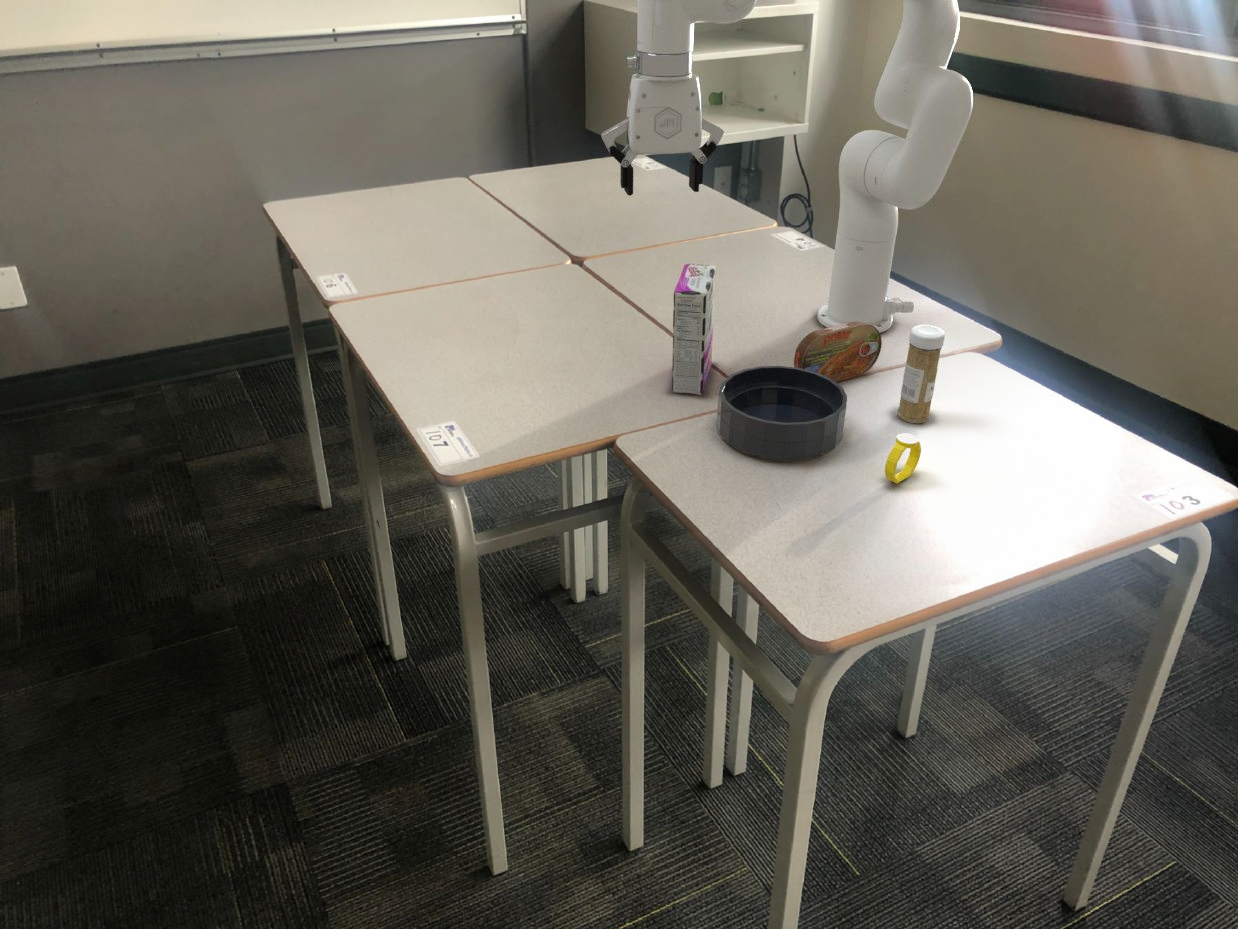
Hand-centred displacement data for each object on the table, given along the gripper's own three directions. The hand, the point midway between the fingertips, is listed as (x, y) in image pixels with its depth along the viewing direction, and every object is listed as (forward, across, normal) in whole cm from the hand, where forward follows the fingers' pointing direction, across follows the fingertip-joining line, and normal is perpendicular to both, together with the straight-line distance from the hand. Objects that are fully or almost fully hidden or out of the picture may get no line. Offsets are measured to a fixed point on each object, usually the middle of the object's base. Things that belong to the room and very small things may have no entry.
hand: (661, 190), depth 143 cm
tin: (+27, +26, -10) cm, 39 cm away
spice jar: (+27, +32, -24) cm, 49 cm away
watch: (+27, +23, -39) cm, 53 cm away
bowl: (+27, +12, -25) cm, 39 cm away
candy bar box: (+27, +4, -7) cm, 28 cm away
